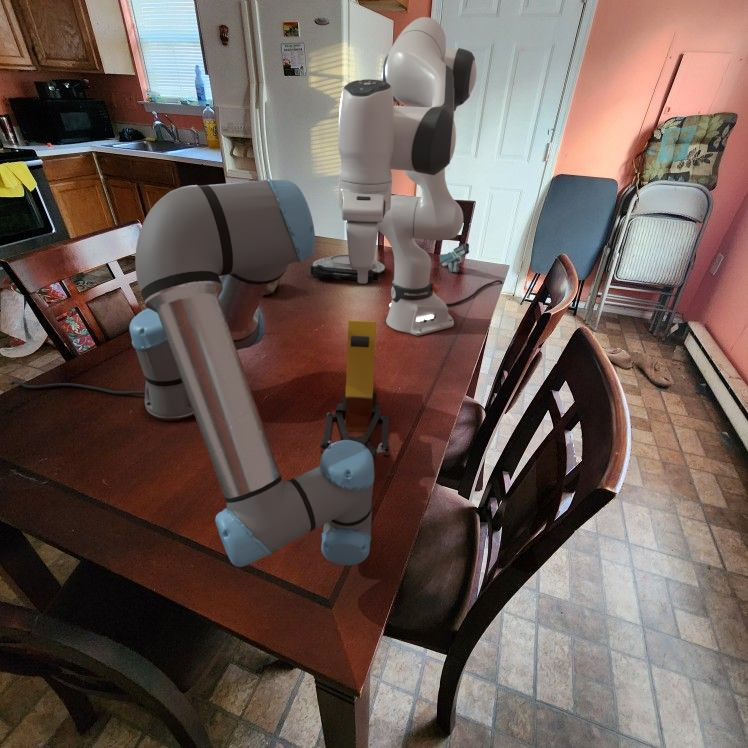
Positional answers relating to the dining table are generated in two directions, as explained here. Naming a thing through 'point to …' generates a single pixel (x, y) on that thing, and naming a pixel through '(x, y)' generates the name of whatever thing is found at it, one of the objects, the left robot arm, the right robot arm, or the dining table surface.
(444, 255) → the toy gun
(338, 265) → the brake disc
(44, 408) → the dining table surface
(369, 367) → the lid
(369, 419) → the chest
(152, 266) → the left robot arm
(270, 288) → the lumpy boulder
